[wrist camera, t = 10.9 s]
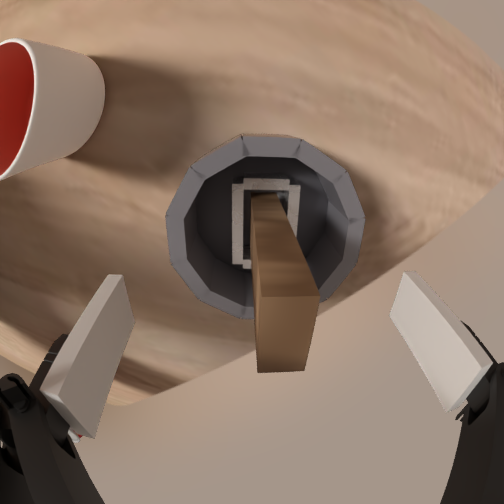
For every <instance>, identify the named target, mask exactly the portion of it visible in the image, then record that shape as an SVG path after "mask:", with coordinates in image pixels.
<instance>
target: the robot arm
mask: <svg viewBox="0 0 504 504" xmlns="http://www.w3.org/2000/svg"><path fill="white" fill-rule="evenodd" d="M389 316H390V318H391V319H392V321H393V322H394V324H395V326H396V327H397V329H398V330H399V332H400V334H401V335H402V337H403V338H404V340H405V342H406V343H407V345H408V346H409V348H410V350H411V351H412V353H413V355H414V356H415V358H416V360H417V361H418V363H419V365H420V367H421V368H422V370H423V372H424V373H425V375H426V376H427V379H428V380H429V382H430V384H431V386H432V387H433V389H434V391H435V393H436V395H437V397H438V399H439V401H440V402H441V404H442V406H443V408H444V410H445V412H446V413H448V412H450V411H452V410H454V409H456V408H458V407H459V406H460V405H461V404H462V403H463V401H464V400H465V399H467V401H468V404H467V405H466V406H465V407H464V408H463V409H462V411H461V412H460V413H459V414H458V415H457V417H456V419H455V420H458V419H459V418H460V416H461V415H462V414H464V415H463V417H462V418H461V420H460V421H462V427H461V433H460V438H459V442H458V447H457V451H456V455H455V459H454V463H453V467H452V470H451V473H450V477H449V480H448V483H447V486H446V489H445V492H444V495H443V497H442V500H441V503H440V504H504V363H503V362H502V363H500V364H498V363H497V362H496V361H495V359H494V358H493V356H492V355H491V354H490V353H489V351H488V350H487V348H486V347H485V346H484V345H483V343H482V342H480V340H479V338H478V337H477V336H475V333H474V332H473V331H472V330H471V328H470V327H469V326H468V325H466V324H465V323H463V322H462V321H460V320H459V319H458V318H457V316H456V315H455V314H454V313H453V312H452V311H451V309H450V308H449V307H448V306H447V305H446V304H445V302H444V301H443V300H442V299H441V298H440V297H439V296H438V295H437V293H436V292H435V291H434V290H433V289H432V288H431V287H430V286H429V285H428V284H427V283H426V282H425V280H423V278H422V277H420V275H419V274H418V273H417V272H416V271H404V272H403V276H402V279H401V282H400V285H399V288H398V291H397V294H396V297H395V300H394V303H393V306H392V309H391V312H390V314H389ZM134 324H135V319H134V316H133V312H132V309H131V305H130V301H129V298H128V294H127V290H126V286H125V282H124V277H123V275H114V274H108V275H107V277H106V278H105V280H104V281H103V283H102V284H101V286H100V287H99V288H98V290H97V291H96V293H95V294H94V296H93V297H92V299H91V300H90V302H89V304H88V305H87V307H86V308H85V310H84V311H83V313H82V314H81V316H80V318H79V319H78V321H77V322H76V324H75V326H74V327H73V329H72V331H71V332H70V334H69V335H66V334H62V335H61V336H60V337H59V338H58V339H57V340H56V341H55V342H54V343H53V344H52V346H51V348H50V349H49V351H48V353H47V355H46V356H45V358H44V361H43V362H42V363H41V365H40V367H39V369H38V371H37V372H36V374H35V376H34V378H33V380H32V382H31V384H30V386H29V387H28V386H27V385H26V383H25V382H24V380H23V379H22V378H21V377H20V376H19V375H17V374H14V373H11V374H7V375H5V376H4V377H2V378H1V379H0V440H1V441H2V442H3V446H2V448H1V445H0V504H105V503H104V501H103V500H102V498H101V496H100V495H99V493H98V491H97V489H96V488H95V486H94V484H93V482H92V480H91V479H90V477H89V475H88V473H87V471H86V469H85V467H84V465H83V463H82V461H81V459H80V457H79V454H78V452H77V450H76V448H75V446H74V443H73V441H72V438H71V437H70V435H69V434H68V431H69V428H70V427H71V428H72V429H73V430H74V431H75V432H76V433H77V434H79V435H83V436H86V437H90V438H93V439H94V438H95V435H96V432H97V428H98V425H99V422H100V418H101V415H102V412H103V409H104V406H105V403H106V400H107V397H108V394H109V391H110V388H111V385H112V382H113V379H114V376H115V374H116V371H117V368H118V365H119V363H120V360H121V357H122V355H123V352H124V349H125V347H126V344H127V342H128V339H129V337H130V334H131V332H132V329H133V327H134Z"/></svg>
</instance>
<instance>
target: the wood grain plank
mask: <svg viewBox="0 0 504 504" xmlns="http://www.w3.org/2000/svg"><path fill="white" fill-rule="evenodd" d="M250 251H251V269H252V286H253V304H254V321H255V338H256V355H257V372H258V373H268V372H293V371H304V369H305V366H306V361H307V357H308V353H309V348H310V344H311V339H312V335H313V330H314V326H315V321H316V316H317V311H318V306H319V300H320V294H319V291H318V289H317V286H316V284H315V282H314V279H313V277H312V274H311V272H310V269H309V267H308V265H307V262H306V260H305V257H304V255H303V253H302V250H301V248H300V246H299V243H298V241H297V239H296V236H295V234H294V232H293V230H292V227H291V225H290V223H289V220H288V218H287V216H286V214H285V212H284V209H283V207H282V205H281V203H280V200H279V198H278V196H277V194H276V192H251V200H250Z"/></svg>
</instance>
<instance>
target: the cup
mask: <svg viewBox="0 0 504 504" xmlns="http://www.w3.org/2000/svg"><path fill="white" fill-rule="evenodd" d="M104 102H105V84H104V79H103V76H102V73H101V71H100V69H99V67H98V66H97V64H96V63H95V62H94V61H93V60H92V59H91V58H89V57H88V56H86V55H84V54H81V53H77V52H74V51H71V50H67V49H63V48H60V47H56V46H52V45H48V44H44V43H40V42H35V41H31V40H26V39H21V38H12V39H8V40H5V41H3V42H1V43H0V181H1V180H3V179H6V178H8V177H11V176H13V175H15V174H18V173H21V172H23V171H26V170H28V169H31V168H34V167H37V166H39V165H42V164H45V163H48V162H51V161H54V160H57V159H61V158H64V157H66V156H69V155H71V154H72V153H74V152H75V151H77V150H78V149H79V148H81V147H82V146H83V145H84V144H85V143H86V142H87V140H88V139H89V138H90V137H91V135H92V134H93V132H94V130H95V129H96V127H97V125H98V122H99V120H100V118H101V115H102V111H103V107H104Z"/></svg>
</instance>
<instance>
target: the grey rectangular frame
mask: <svg viewBox="0 0 504 504" xmlns="http://www.w3.org/2000/svg"><path fill="white" fill-rule="evenodd" d="M300 186H301V185H300V184H299V183H298V182H297V181H296V180H295V179H293V178H288V177H287V176H286V174H285V173H261V172H244V177H233V181H232V263H233V264H243V269H251V251H250V246H243V190H284V194H283V209H284V212H285V214H286V216H287V218H288V220H289V223H290V225H291V227H292V230H293V232H294V234H295V236H296V235H297V224H298V212H299V199H300Z"/></svg>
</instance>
